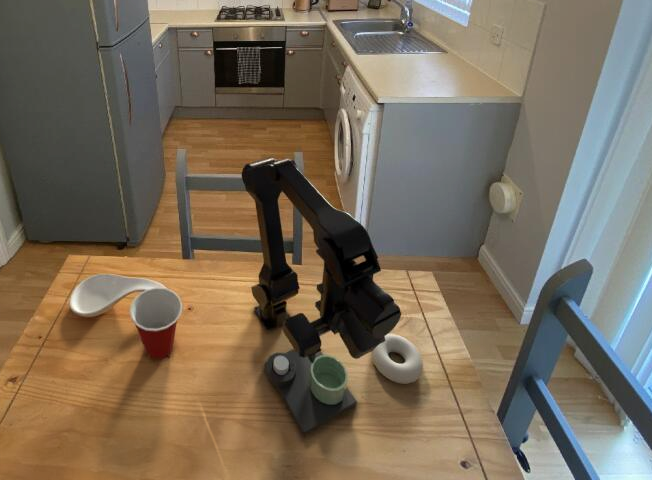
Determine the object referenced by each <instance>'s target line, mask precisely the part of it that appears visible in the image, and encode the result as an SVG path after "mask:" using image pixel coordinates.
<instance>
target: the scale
mask: <svg viewBox="0 0 652 480" xmlns="http://www.w3.org/2000/svg"><path fill="white" fill-rule="evenodd" d="M321 355H324V353H323V352H322V350H321V351H319V352H317V353H316V357H315V358H317V357H319V356H321ZM277 356H284V357H285V358H287V360H288V362H289V368H288V372H287V373H286V374H285V375H278V374H277V373H276V372H275V371H274V368H273V364H274V359H275V358H276V357H277ZM311 364H312V363H311V362H310V360H309V358H308V356H307V357H305V358H303V357H300V356H299V355H298V354H297V352H296V351H295V349H294V348H293V349H291V350H289V351H286V352H274V353H273V354H271V355H269V356H268V358H267V360H266V361H265V362H264V370H265V376H266V377H267V380H268V382H270V383H271V384H273V385H274V387H275V389H276V390H277V392H278V394H279V396H280V398H281V399H282V401H283V403H284V405H285V406H286V408H287V410H288V412H289V413H290V415H291V417H292V418H293V420H294V422H295V424H296V426H297V427H298V429H299V431H300V433H301V435H302V436H303V437H307V436H308V435H310V434H311V433H313V432H315V431H316V430H318V429H320V428H322V427H323V426H325V425H327V424H328V423H330V422H331V421H333V420H335V419H337V418H338V417H340V416H343V414H345V413H347V412H348V411H350V410H352V409H353V408H355V407H357V403H358V401H357V399H356V398H355V397H354V395H353V394H352V392H351V391H350V390H349V388H348V386H346V393H345V396H344V398H343V400H342V401H340V402H339V403H337V404H331V405H328V404H326V403H323V402H321V401H319V400H318V399H317V398H316V397H315V396H314V394H313V393H312V391H311V389H310V384H309V381H310V370H311Z"/></svg>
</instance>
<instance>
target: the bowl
mask: <svg viewBox="0 0 652 480" xmlns="http://www.w3.org/2000/svg"><path fill="white" fill-rule="evenodd" d="M348 377H349V374H348V370H347V368H346V366H345V365H344V364H343V362H342V361H341V360H340V359H338V358H336V357H335V356H332V355H330V354H323V355H321V356H319V357H317V358H315V361H314V363H312V364H311V370H310V381H309V384H310V389H311V391H312V393H313V394H314V396H315V397H316V398H317V399H318V400H319V401H321V402H323V403H326V404H328V405H331V404H337V403H339V402H340V401H342V400H343V398H344V396H345V393H346V387H348V386H347V385H348Z"/></svg>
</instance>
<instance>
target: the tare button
mask: <svg viewBox="0 0 652 480" xmlns="http://www.w3.org/2000/svg"><path fill="white" fill-rule="evenodd" d="M273 368H274V371H275V372H276V373H277V374H278V375H285V374H286V373H287V372H288V368H289V362H288V360H287V358H285V357H284V356H277V357H276V358H275V359H274V364H273Z"/></svg>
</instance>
